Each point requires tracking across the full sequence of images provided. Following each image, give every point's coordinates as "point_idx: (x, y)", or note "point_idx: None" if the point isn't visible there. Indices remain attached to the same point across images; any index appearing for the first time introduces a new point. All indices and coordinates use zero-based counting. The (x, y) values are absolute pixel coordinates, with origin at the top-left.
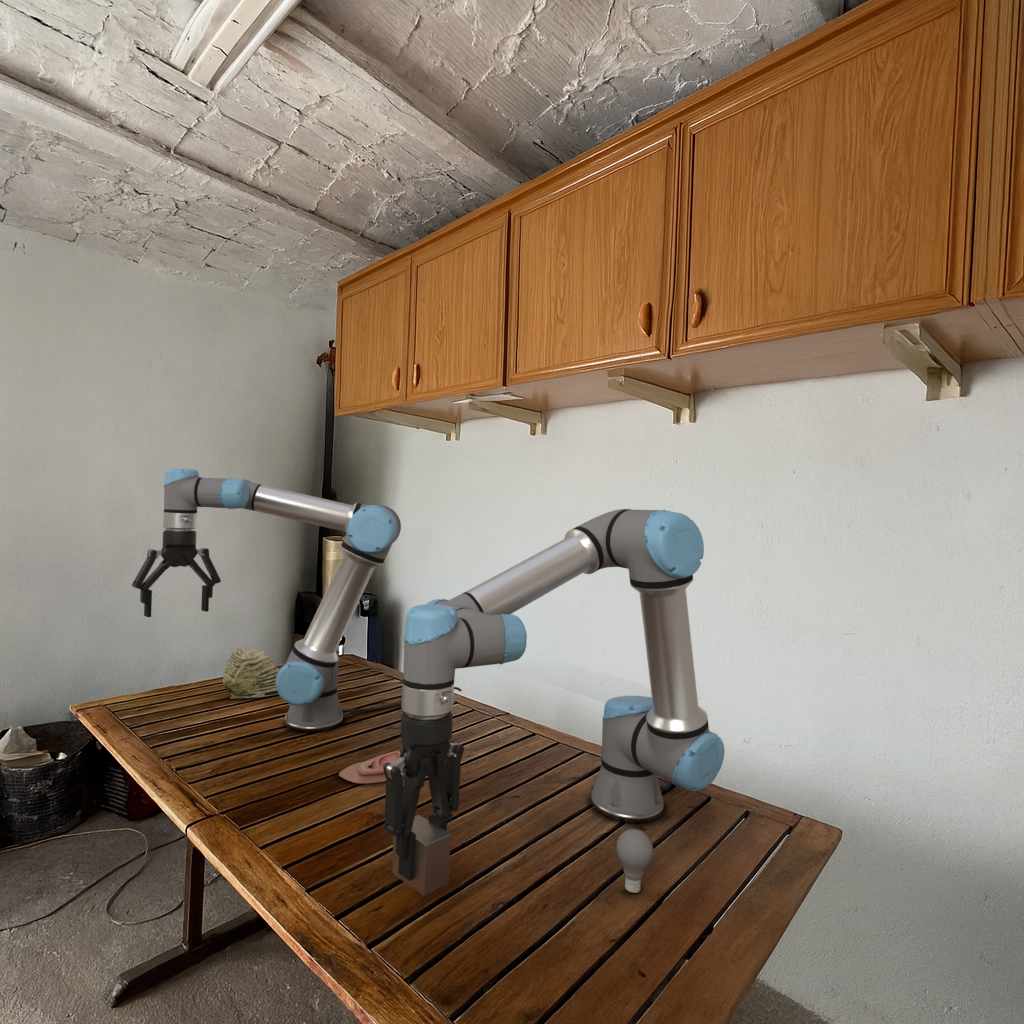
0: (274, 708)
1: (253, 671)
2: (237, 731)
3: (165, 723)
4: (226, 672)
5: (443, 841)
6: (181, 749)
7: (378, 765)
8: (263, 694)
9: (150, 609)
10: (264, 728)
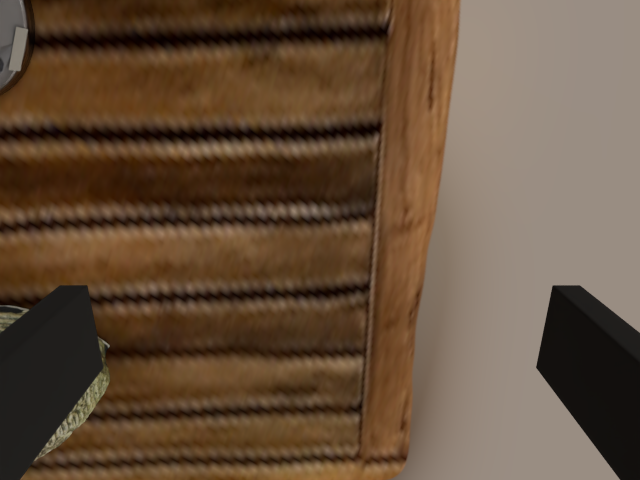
0: (25, 208)
1: None
2: (167, 97)
3: (296, 271)
4: (84, 402)
5: None
6: (328, 63)
7: None
8: (23, 312)
9: (599, 321)
10: (96, 69)
